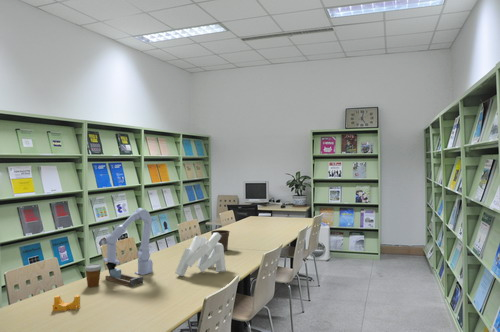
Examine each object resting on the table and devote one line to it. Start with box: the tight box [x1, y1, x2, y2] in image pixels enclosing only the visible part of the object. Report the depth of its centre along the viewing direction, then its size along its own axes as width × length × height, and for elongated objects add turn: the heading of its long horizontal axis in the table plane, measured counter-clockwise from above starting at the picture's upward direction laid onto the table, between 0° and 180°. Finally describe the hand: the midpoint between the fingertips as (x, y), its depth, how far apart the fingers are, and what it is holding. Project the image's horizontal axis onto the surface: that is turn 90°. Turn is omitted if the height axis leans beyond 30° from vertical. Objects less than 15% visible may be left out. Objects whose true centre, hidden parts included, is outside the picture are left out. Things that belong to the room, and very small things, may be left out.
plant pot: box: [210, 229, 231, 252], centre depth 330 cm, size 16×16×16 cm
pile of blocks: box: [174, 232, 227, 277], centre depth 263 cm, size 35×30×35 cm
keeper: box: [109, 267, 122, 279], centre depth 247 cm, size 5×5×6 cm
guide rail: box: [104, 273, 144, 287], centre depth 242 cm, size 9×25×4 cm, turn 57°
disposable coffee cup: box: [84, 263, 102, 288], centre depth 234 cm, size 10×10×12 cm
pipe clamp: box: [52, 294, 81, 312], centre depth 196 cm, size 12×4×6 cm, turn 94°
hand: (111, 273), depth 249 cm, fingers closed
